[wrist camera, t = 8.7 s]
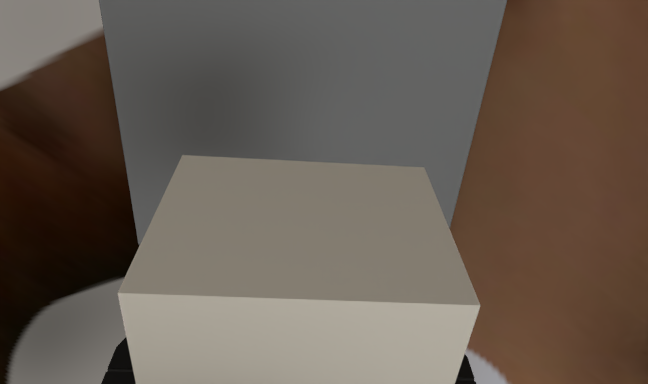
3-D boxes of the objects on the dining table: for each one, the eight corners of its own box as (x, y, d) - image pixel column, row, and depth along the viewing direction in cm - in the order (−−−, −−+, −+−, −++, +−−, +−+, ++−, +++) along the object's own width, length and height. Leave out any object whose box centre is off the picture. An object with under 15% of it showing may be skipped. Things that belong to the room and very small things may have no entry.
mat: (441, 250, 30) (442, 256, 30) (140, 239, 29) (138, 244, 29) (524, -86, 21) (528, -86, 20) (84, -122, 20) (79, -122, 19)
